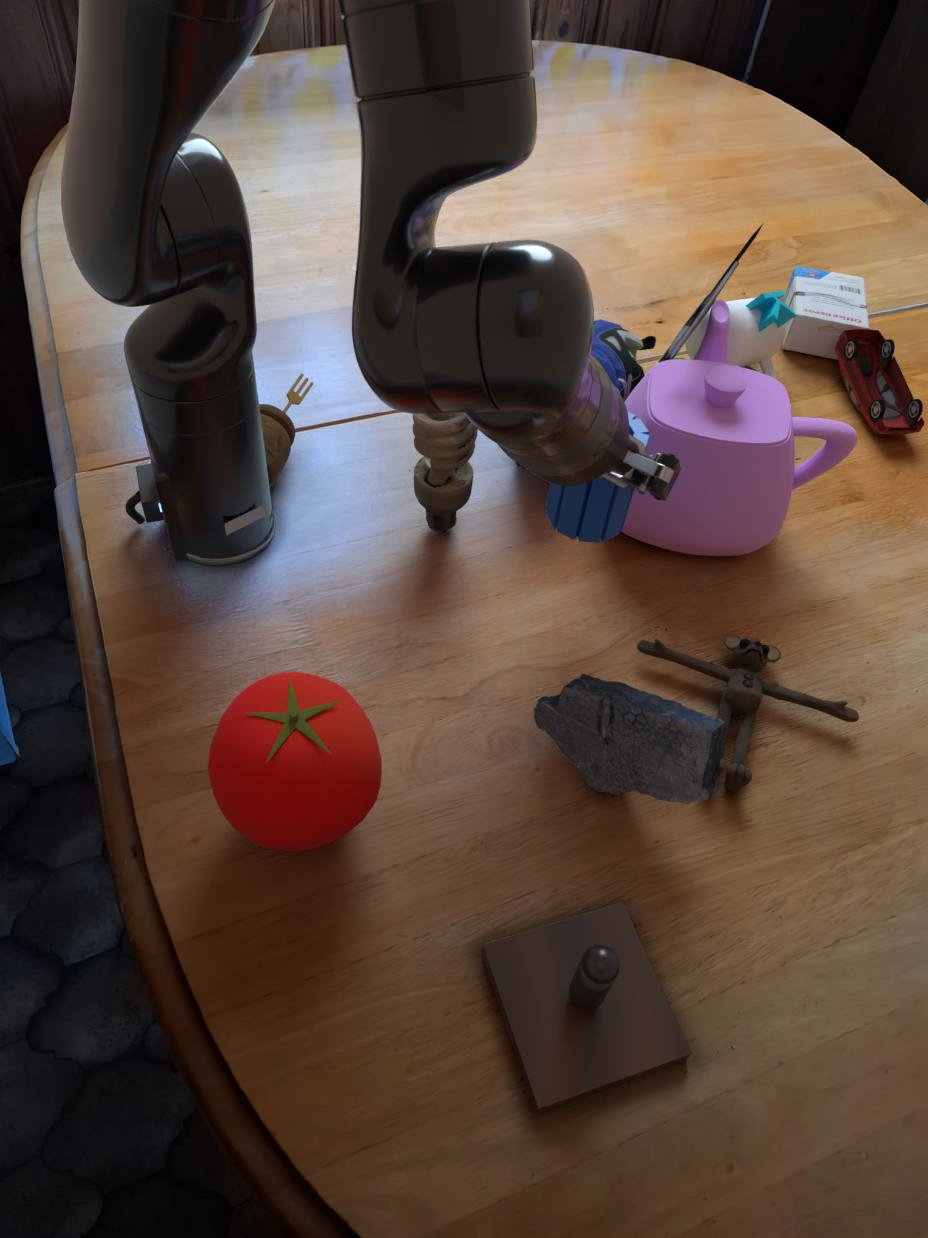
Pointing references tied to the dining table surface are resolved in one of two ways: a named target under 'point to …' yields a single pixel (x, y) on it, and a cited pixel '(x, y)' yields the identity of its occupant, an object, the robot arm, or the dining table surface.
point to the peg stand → (582, 1006)
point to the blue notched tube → (593, 502)
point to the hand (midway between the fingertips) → (604, 461)
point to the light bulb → (443, 465)
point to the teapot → (723, 451)
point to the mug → (750, 331)
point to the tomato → (294, 762)
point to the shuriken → (704, 306)
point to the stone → (634, 740)
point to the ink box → (823, 310)
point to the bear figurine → (745, 694)
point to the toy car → (877, 382)
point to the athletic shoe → (619, 355)
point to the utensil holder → (280, 430)
